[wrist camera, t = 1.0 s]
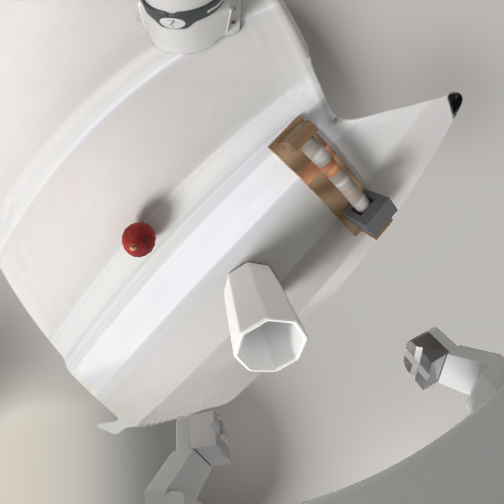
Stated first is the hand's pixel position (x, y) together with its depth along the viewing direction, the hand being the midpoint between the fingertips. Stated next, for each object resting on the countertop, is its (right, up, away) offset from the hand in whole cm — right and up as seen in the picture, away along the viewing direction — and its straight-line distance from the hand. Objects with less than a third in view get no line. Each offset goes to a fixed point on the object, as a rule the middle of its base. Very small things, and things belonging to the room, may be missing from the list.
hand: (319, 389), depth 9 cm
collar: (+17, +14, +40) cm, 45 cm away
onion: (-22, +9, +38) cm, 45 cm away
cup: (-3, -2, +45) cm, 46 cm away
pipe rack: (+12, +19, +40) cm, 46 cm away
